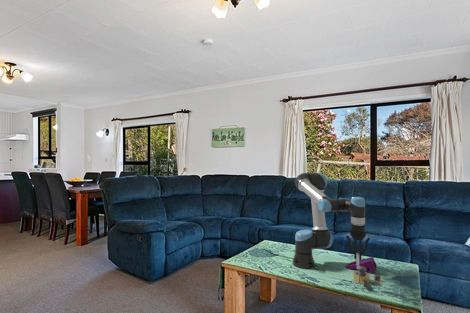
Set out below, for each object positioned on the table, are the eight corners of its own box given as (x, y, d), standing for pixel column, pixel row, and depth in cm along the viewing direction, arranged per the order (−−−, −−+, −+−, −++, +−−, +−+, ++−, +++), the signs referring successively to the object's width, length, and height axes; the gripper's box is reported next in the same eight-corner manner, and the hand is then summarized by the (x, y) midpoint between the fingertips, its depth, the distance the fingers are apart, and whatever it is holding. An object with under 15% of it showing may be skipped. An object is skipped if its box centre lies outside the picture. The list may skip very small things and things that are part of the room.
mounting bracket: (349, 280, 186) (377, 274, 177) (344, 267, 188) (370, 261, 179) (352, 275, 194) (378, 269, 185) (347, 263, 196) (372, 256, 187)
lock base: (338, 284, 166) (338, 269, 166) (335, 275, 179) (335, 261, 179) (390, 290, 159) (390, 275, 159) (383, 280, 172) (383, 265, 172)
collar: (352, 276, 174) (352, 269, 174) (367, 278, 172) (367, 270, 172) (357, 288, 158) (357, 280, 158) (373, 290, 156) (373, 282, 156)
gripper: (345, 224, 162) (345, 265, 161) (370, 226, 156) (370, 269, 156) (346, 221, 168) (346, 261, 168) (370, 223, 163) (370, 264, 163)
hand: (357, 264), depth 162 cm, fingers closed
